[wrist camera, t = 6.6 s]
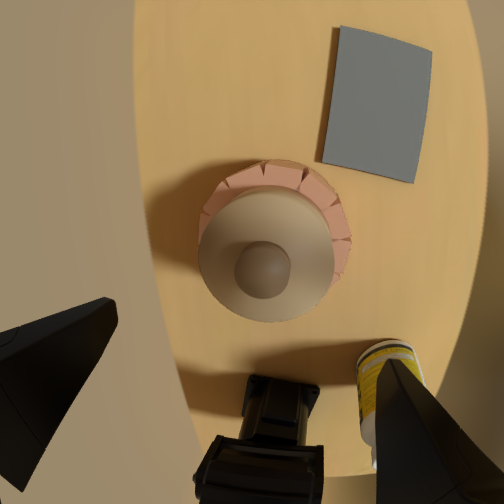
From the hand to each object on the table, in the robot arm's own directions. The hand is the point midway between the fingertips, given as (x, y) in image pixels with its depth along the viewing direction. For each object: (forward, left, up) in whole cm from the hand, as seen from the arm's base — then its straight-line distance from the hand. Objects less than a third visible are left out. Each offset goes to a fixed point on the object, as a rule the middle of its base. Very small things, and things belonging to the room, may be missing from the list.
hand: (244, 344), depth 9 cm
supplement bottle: (-10, -11, -12) cm, 19 cm away
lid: (0, 0, -8) cm, 8 cm away
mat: (+9, -5, -12) cm, 16 cm away
